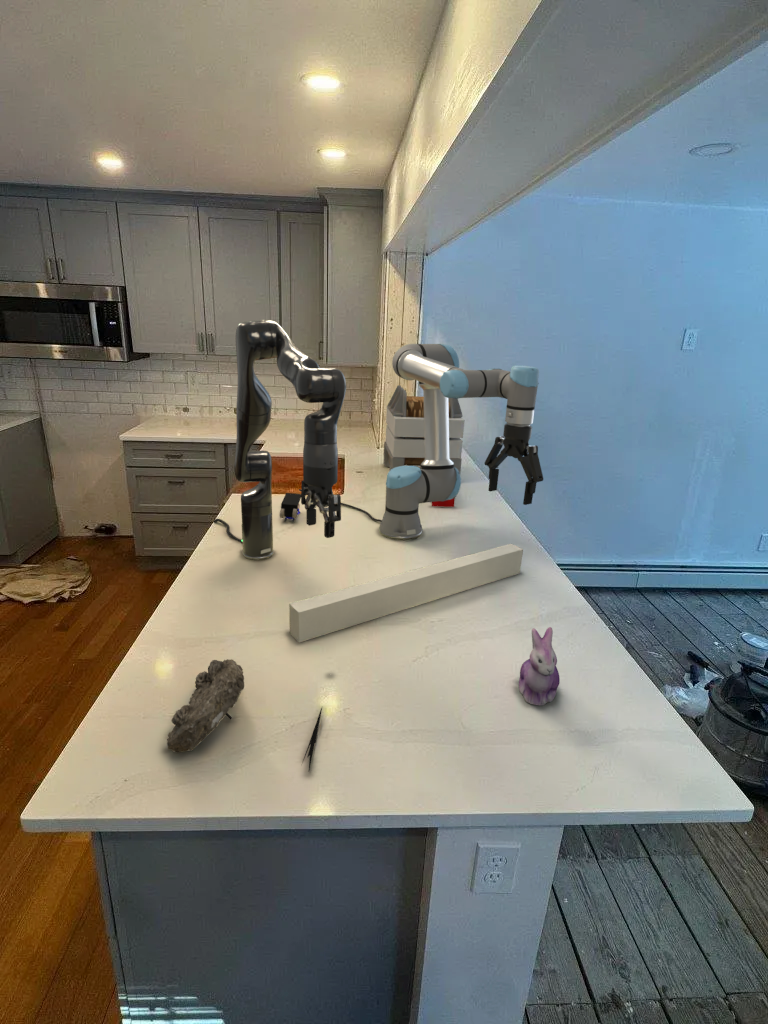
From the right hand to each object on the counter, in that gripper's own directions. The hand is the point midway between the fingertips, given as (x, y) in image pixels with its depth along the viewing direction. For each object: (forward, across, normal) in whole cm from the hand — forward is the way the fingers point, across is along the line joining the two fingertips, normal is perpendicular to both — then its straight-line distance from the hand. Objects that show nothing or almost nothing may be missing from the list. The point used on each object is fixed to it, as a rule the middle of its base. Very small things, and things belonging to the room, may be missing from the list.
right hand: (509, 497), depth 163 cm
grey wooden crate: (+25, -101, +48) cm, 114 cm away
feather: (+25, +28, -77) cm, 85 cm away
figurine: (+25, +45, -34) cm, 61 cm away
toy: (+25, -68, +33) cm, 79 cm away
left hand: (-1, 0, -62) cm, 62 cm away
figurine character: (+25, -74, -33) cm, 85 cm away
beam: (+25, 0, -31) cm, 40 cm away
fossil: (+25, +16, -94) cm, 98 cm away
